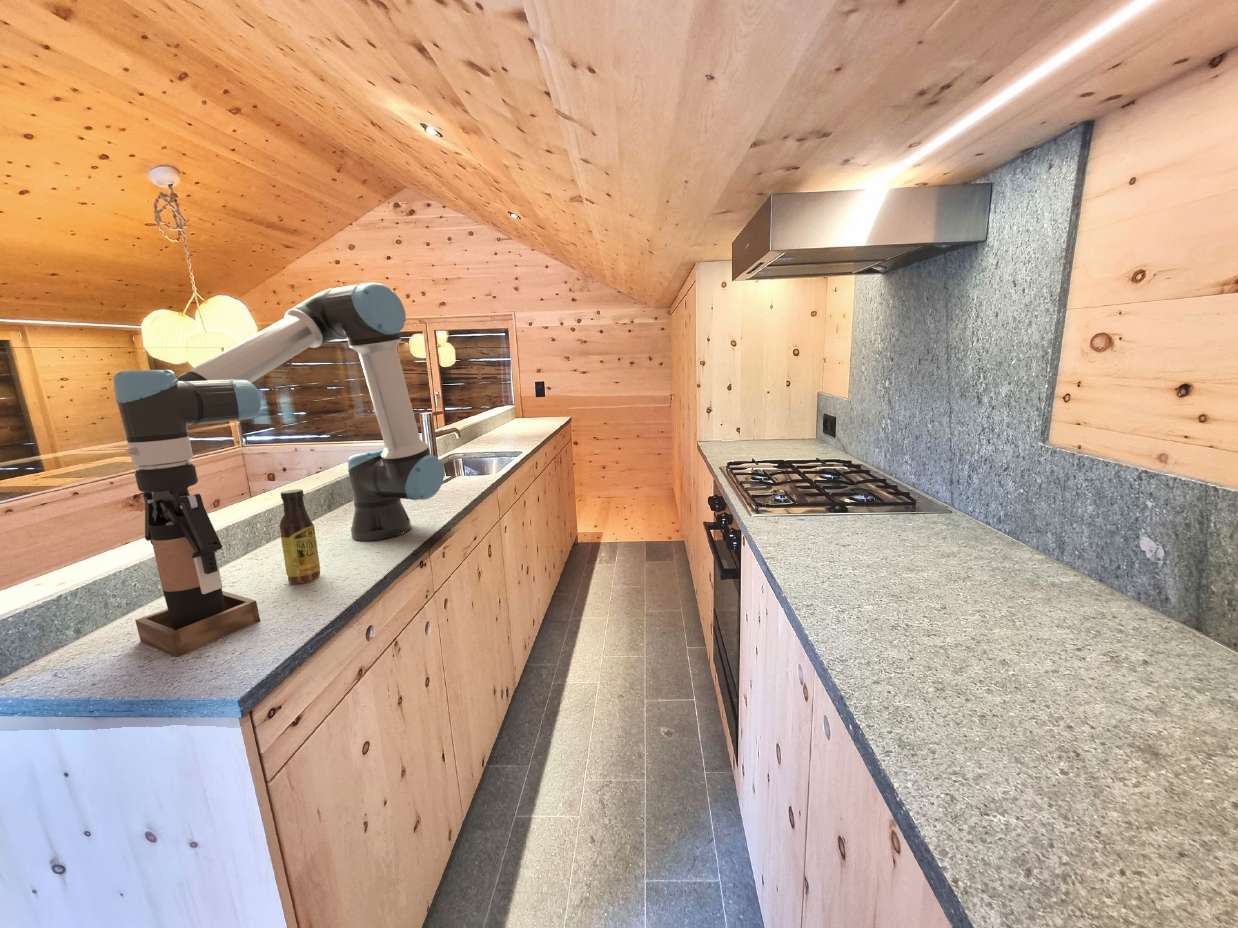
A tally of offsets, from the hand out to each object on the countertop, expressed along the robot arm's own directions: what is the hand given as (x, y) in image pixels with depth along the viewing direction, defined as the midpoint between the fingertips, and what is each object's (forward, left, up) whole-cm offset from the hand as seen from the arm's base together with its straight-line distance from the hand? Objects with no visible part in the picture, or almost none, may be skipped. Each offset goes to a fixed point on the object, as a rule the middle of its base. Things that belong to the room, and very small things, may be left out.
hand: (191, 584), depth 87 cm
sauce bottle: (-22, -5, -9) cm, 24 cm away
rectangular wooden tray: (0, 0, -9) cm, 9 cm away
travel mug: (0, 0, -8) cm, 8 cm away
